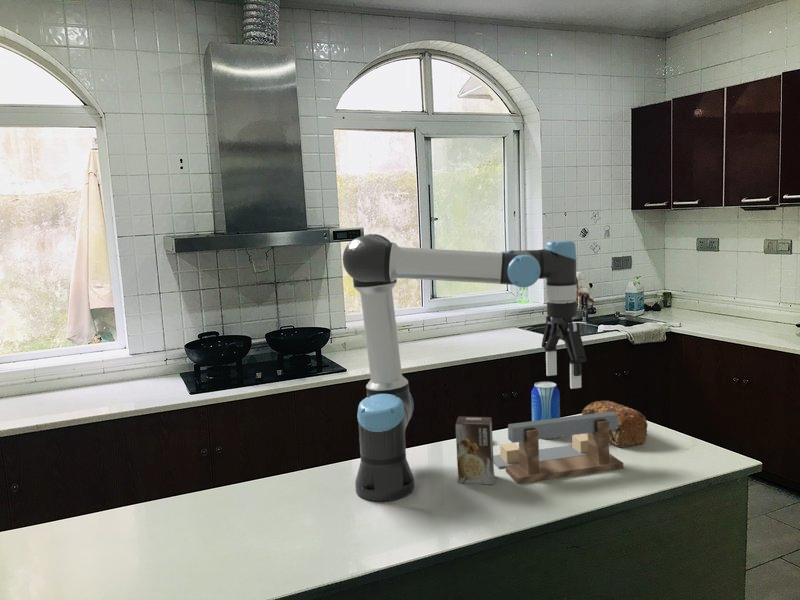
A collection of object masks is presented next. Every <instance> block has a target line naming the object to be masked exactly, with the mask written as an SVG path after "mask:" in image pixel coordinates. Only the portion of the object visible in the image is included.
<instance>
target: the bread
mask: <svg viewBox="0 0 800 600" xmlns="http://www.w3.org/2000/svg"><path fill="white" fill-rule="evenodd" d="M610 411H613V412H614V413H616V414H618V429H615V430H609V445H613V446H615V447H617V448H628V447H633V446H635V447H636V446H639V445H640V446H641V445H643V444H645V443H646V439H647V436H648V433H647V432H648V422H647V418H646V416H645V415H643V414H642V412H640V411H638V410H637V409H633V408H630V407H629V406H626V405H623V404H619V403H616V402H614V401H610V400H600V401H599V400H598V401H597V400H596V401H593V402H592V401H591V402H590V403H589V404H588V405H586V406H585V407H583V409H582V411H581V415H586V414H594V413H602V412H610Z"/></svg>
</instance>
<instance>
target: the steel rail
mask: <svg viewBox="0 0 800 600" xmlns="http://www.w3.org/2000/svg"><path fill="white" fill-rule="evenodd" d="M604 420H608V421H609V430H615V429H618V414H616V413H614V412H613V411H610V412H602V413H594V414H586V415H582V414H580V415H573V416H563V417H560V418H554V419H546V420H538V421H532V420H531V421H525V422H524V421H523V422H516V423H508V424H507V435H508V437H507V439H508V441H510V442H511V443H514V444H516V443H519V442H523V441H526V430H534V429H537V430H538V437H539V440H546V438H551V439H554V438H553V437H555V438H560V437H566V436H567V437H568V436H572V435H580V434H588V433H592V432H597V421H604Z"/></svg>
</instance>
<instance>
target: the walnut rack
mask: <svg viewBox="0 0 800 600" xmlns="http://www.w3.org/2000/svg"><path fill="white" fill-rule="evenodd" d="M587 436H588V455H584V456H576V457H569V458H562V459H555V460H548V461H540V462H539V448H540V447H539V446H540V445H539V444H540V443H539V440H540V439H539V437H538V430H537V429H534V430H526V441H523V442H518V448H519V465H512V466H506V468H505V473H506V474H508V476H510V478H511V479H513V482H514V481H515V483H517V484H524V483H532V482H538V481H545V480H551V479H552V480H553V479H558V478H567V477H572V476H579V475H585V474H586V475H587V474H592V473H593V474H594V473H599V472H607V471H615V470H620V469H624V462H623V461H621V460H620V459H619V458H617V457H615V456H614V455H613V454H611V453H610V443H609V421H608V420H604V421H597V432H592V433H587Z"/></svg>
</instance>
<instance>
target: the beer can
mask: <svg viewBox="0 0 800 600" xmlns="http://www.w3.org/2000/svg"><path fill="white" fill-rule="evenodd" d="M530 395H531V397H530V398H531V421H538V420H546V419H554V418H561V409H560V408H561V406H560V405H561V401H560V400H561V397H560V390H559V388H558V387H557V383H555V382H553V381H539V382H534V386H533V388H532V390H531V394H530ZM555 438H556V437H553V438H546V439H547V440H549V439H555ZM546 439H545V440H546Z"/></svg>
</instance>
